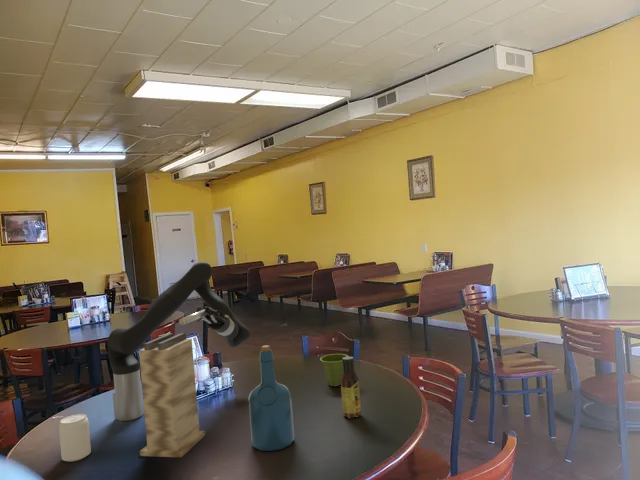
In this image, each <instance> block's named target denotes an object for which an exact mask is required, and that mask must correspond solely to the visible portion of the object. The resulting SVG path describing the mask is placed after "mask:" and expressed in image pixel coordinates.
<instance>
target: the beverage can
mask: <svg viewBox="0 0 640 480" xmlns="http://www.w3.org/2000/svg"><path fill="white" fill-rule="evenodd" d="M58 433H59V434H58V435H59V443H60V454H61V460H62V461H64V462H69V463H71V462H77V461H80V460H83V459H85V458H86V457H87V456H89V455H90V454H91V452H92V449H91V448H92V446H91V435H90V434H91V433H90V424H89V418H88V417H87V415H86V414H84V413H77V414H72V415H68V416H66V417H63V418H62V419H60V423H59V424H58Z"/></svg>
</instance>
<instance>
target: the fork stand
mask: <svg viewBox="0 0 640 480" xmlns="http://www.w3.org/2000/svg"><path fill="white" fill-rule="evenodd" d="M192 339H193V338H187V332H180V333H178V334H176V335H174V333H173V332H170V333H167V334H164V335H161V336H160V337H157V338H154V339H152V340H149V341H147V342H144V343H143V348H142V349H141V348H140V349H138V354H139V356H138V357H139V367H140V379H141V390H142V402H143V416H144V424H145V437H146V445H145V446H144V447H143V448H141V449H140V450H139V456H140V457H157V458H158V457H161V458H162V457H163V458H183V457H184V456H185V455H186V454H187V453H188V452H190V450H191V449H192V448H193V447H194V446H196V444H198V443H199V442H200V441H201V440H202V439H203V438H204V437H205V436H206V431H205V430H200V423H199V421H200V420H199V409H198V400H197V387H196V375H195V364H194V363H195V362H194V353H193V352H194V351H193V350H194V349H193V340H192Z"/></svg>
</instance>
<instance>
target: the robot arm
mask: <svg viewBox="0 0 640 480" xmlns="http://www.w3.org/2000/svg"><path fill="white" fill-rule="evenodd" d="M212 274H213V268H212V266H211V265H210V263H208V262H206V261H199V262H195V263H194V264H193V265H192V266H191V268H189V269H188V271H187V272H186V273H185V274H184V275H183V276H182V277H181V278H180V279H179V280H178V281H176V282H175V283H172V285H171V286H169V287H168V288H166V289H165V290H164V291H163V292H162V293H160V294H159V295H158V296H157V297H156V298H154V299H153V300H152V302H150V304H149V306H148V307H147V310H146V311H145V314H144V315H143V316H142V317H141V319H139V320H138V321H137V322H136V323H135V324H133V325H132V326H131V327H128V328H126V327H119V328H115V329H114V330H112V331H110V333H109V335H108V338H107V351H108V357H109V358H108V359H109V363H110V367H111V368H112V372H113V373H112V375H113V384H114V385H113V386H114V392H113V393H112V402H113V411H114V412H113V413H114V420H117V421H120V422H126V421H133V420H136V419H138V418H141V417H142V416H144V403H143V391H142V380H141V368H140V361H139V360H138V359H136V357H135V355H134V353H135V352H137V350H139V349H140V347H142V346H143V345H144V344H145V343H146V341H147V340H148V338H149V337H150V336H151V335H152V334H154V332H155V331H156V330H157V329H158V328H159V327H160V326H161V325H162V324H163V323H165V322H166V321H167V320H168V319H169V318H170V317H171V316H172V315H174V314H175V313H176V312H177V311H179V308H181V306H183V304H184V303H185V302H186V301H187V299H188V298H189V297H190V296H191V295H192V293H193V292H194V291H195V292H196V293H197V294H198V296H200V298H201V299H202V300H203V301H204V303H205V304H206V305H207V306H204V307H205V308H204V309H205V311H204V312H205V313H206V314H208V315H206V316H204V317H202V318H199V319H197V320H196V321H197V322H201V321H204V322H205V323H207V324H208V326H209V328H210V329H211V330H213V331H214V332H216V333H217V334H218V335H221V336H222V337H223V338H225V341H226V343H227V345H228V346H229V347H230V348H237V347H238V346H240V345H241V344H243V343H245V342H247V340H248V339H250V338H251V330H250V329H249V328H248V327H247V326H246V325H245V324H243V322H241V321H240V320H239V319H238V317H237V316H236V315H235V314H234V312H233V311H232V308H230V306H229V304H228V303H227V302H226V301H225V300H224V299H223V298H222V297H220V296H219V295H217V293H216V292H215V291H214V290H213V289H212V287H211V285H210V284H209V280H211V277H212ZM210 308H211V309H212V310H211V309H210ZM204 309H203V307H201V306H198V307H197V308H196V312H199V311H201V310H204Z"/></svg>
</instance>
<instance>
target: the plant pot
mask: <svg viewBox="0 0 640 480" xmlns="http://www.w3.org/2000/svg"><path fill="white" fill-rule="evenodd" d="M343 357H350V356H349V355H348V354H344V353H331V354H330V353H329V354H326V355H324V356H321V357H320V359H319V360H320V361H321V364H322V367H323V371H324V374H325V378H326V381H327V385H328V386H329V385H332V386H335V385H341V376H342V374H343V372H344V371H343V362H342V358H343Z"/></svg>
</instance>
